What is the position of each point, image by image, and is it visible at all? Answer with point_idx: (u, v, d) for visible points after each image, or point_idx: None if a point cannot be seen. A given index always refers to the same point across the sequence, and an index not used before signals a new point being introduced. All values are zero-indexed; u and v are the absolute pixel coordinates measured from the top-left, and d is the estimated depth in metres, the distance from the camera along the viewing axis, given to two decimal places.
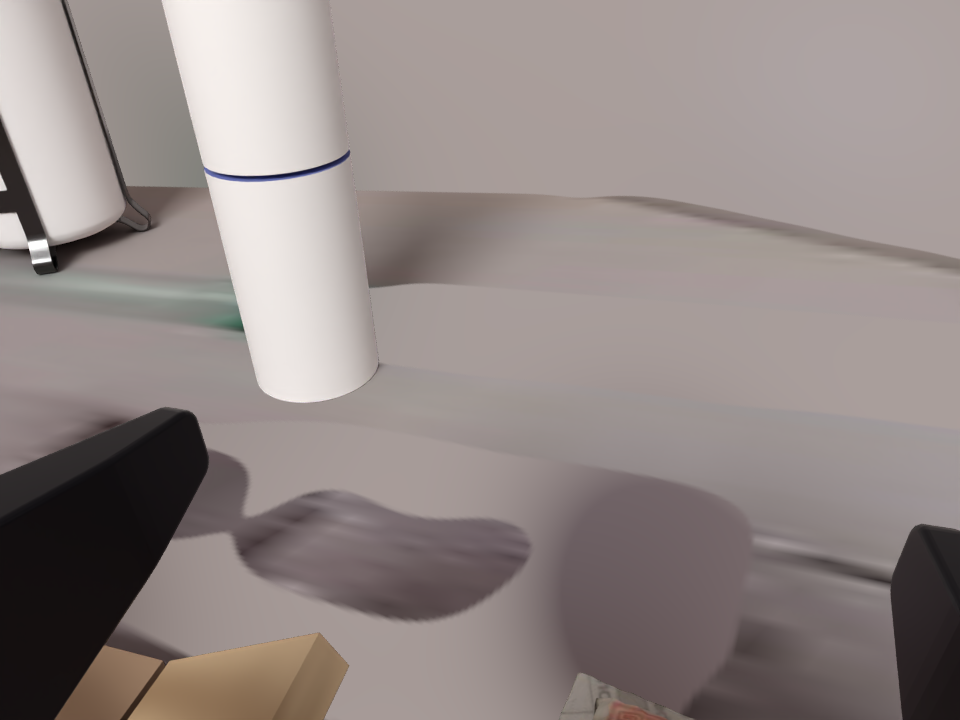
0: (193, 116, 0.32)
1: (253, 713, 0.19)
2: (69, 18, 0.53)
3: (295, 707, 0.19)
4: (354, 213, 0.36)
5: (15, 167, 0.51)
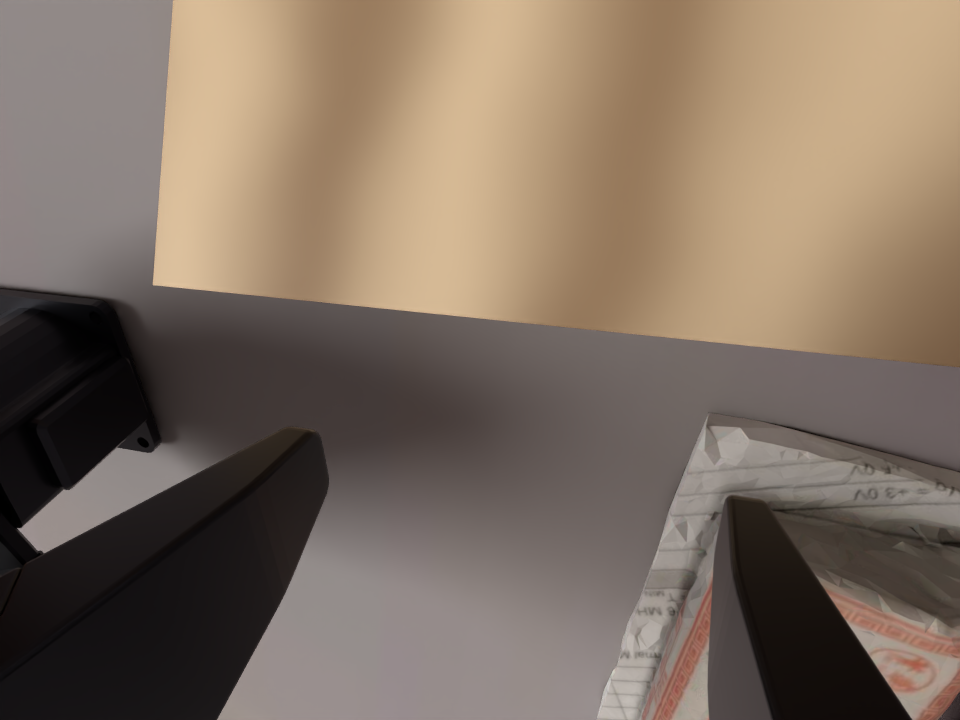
0: None
1: None
2: None
3: None
4: None
5: None
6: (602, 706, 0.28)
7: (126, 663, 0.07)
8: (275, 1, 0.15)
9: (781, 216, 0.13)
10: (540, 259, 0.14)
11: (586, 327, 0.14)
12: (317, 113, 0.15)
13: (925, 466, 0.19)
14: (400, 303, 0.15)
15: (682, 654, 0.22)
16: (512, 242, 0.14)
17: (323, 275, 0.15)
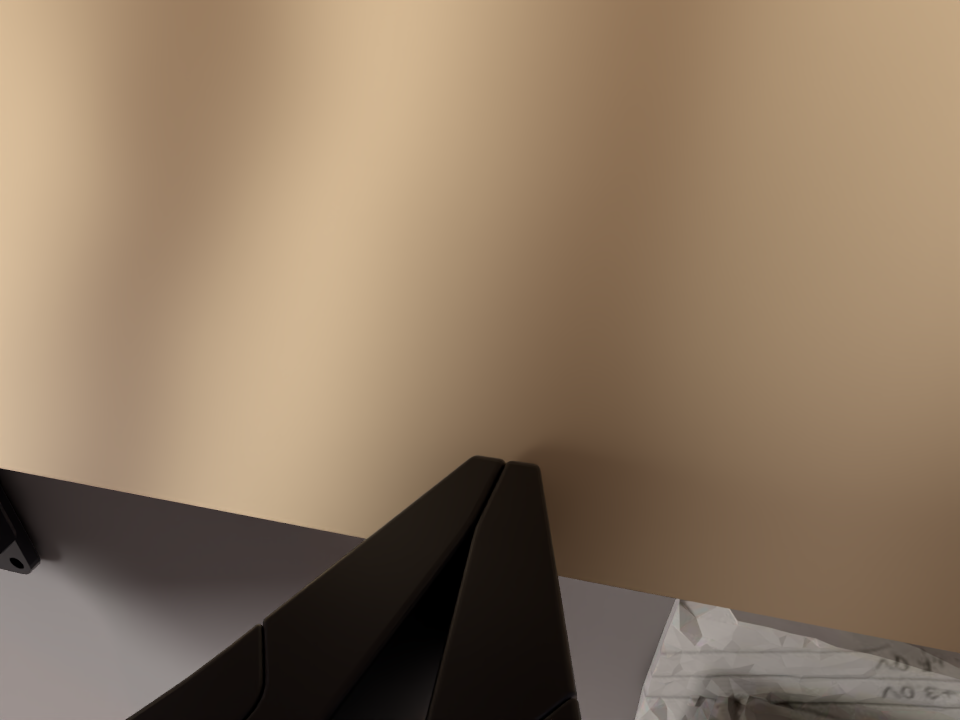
0: None
1: None
2: None
3: None
4: None
5: None
6: None
7: None
8: (68, 48, 0.10)
9: (828, 413, 0.08)
10: (448, 455, 0.09)
11: None
12: (127, 215, 0.10)
13: None
14: (245, 505, 0.10)
15: None
16: (407, 426, 0.09)
17: (137, 455, 0.10)
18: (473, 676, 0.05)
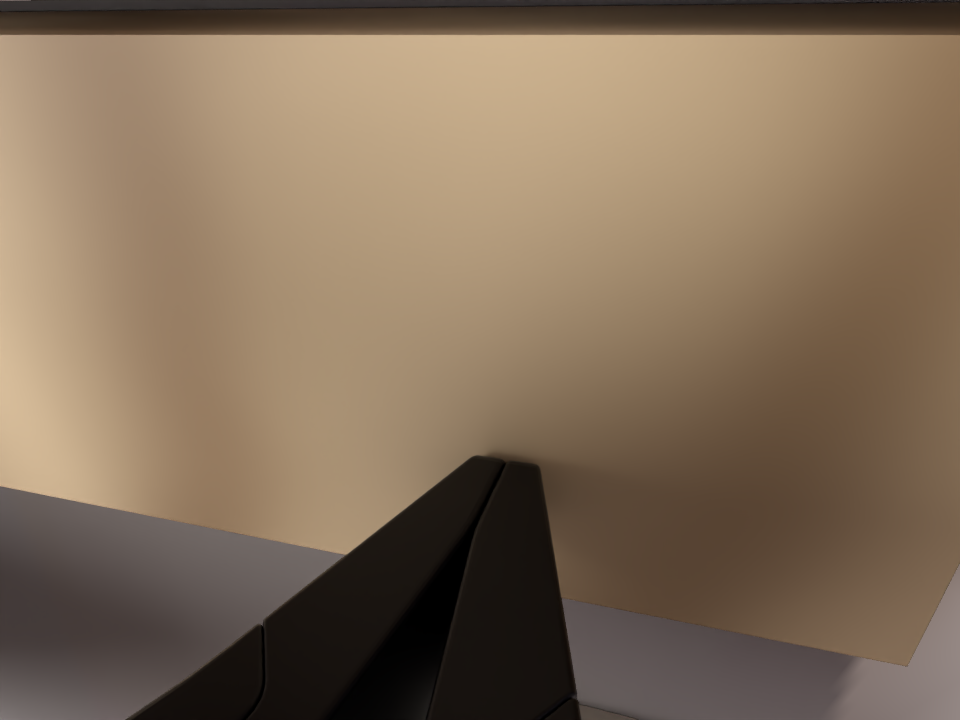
0: None
1: (711, 580, 0.09)
2: None
3: None
4: None
5: None
6: None
7: None
8: None
9: (395, 441, 0.09)
10: (132, 457, 0.11)
11: (214, 527, 0.11)
12: None
13: None
14: (12, 482, 0.12)
15: None
16: (91, 437, 0.11)
17: None
18: (474, 676, 0.05)
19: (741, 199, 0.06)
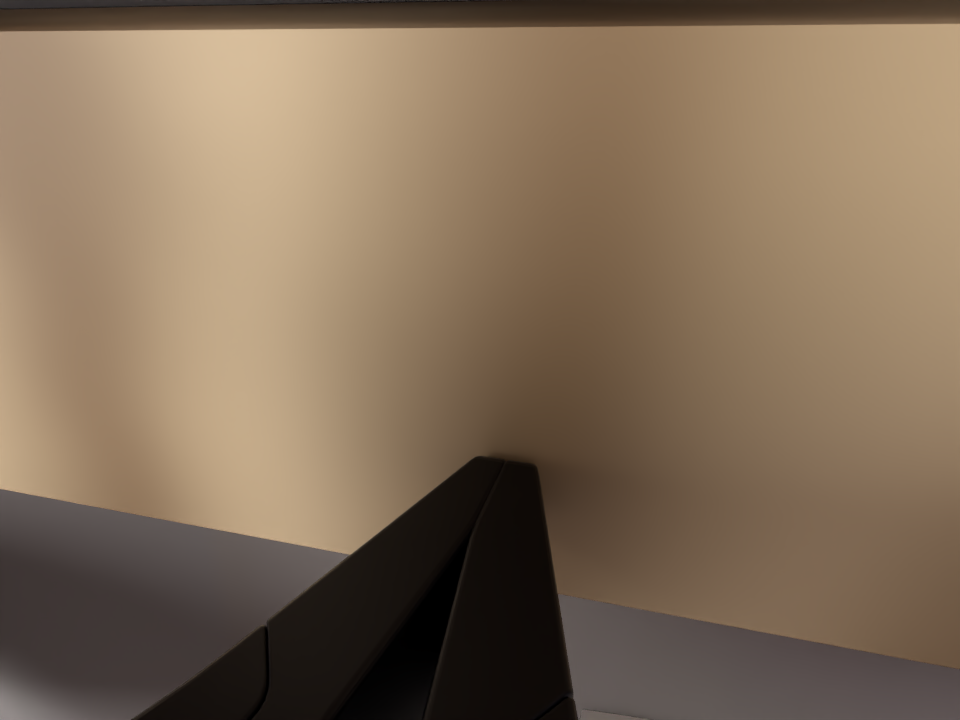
0: None
1: None
2: None
3: None
4: None
5: None
6: None
7: None
8: None
9: (811, 498, 0.08)
10: None
11: None
12: (37, 295, 0.09)
13: None
14: (264, 531, 0.11)
15: None
16: (392, 486, 0.09)
17: (151, 493, 0.11)
18: (470, 675, 0.05)
19: None
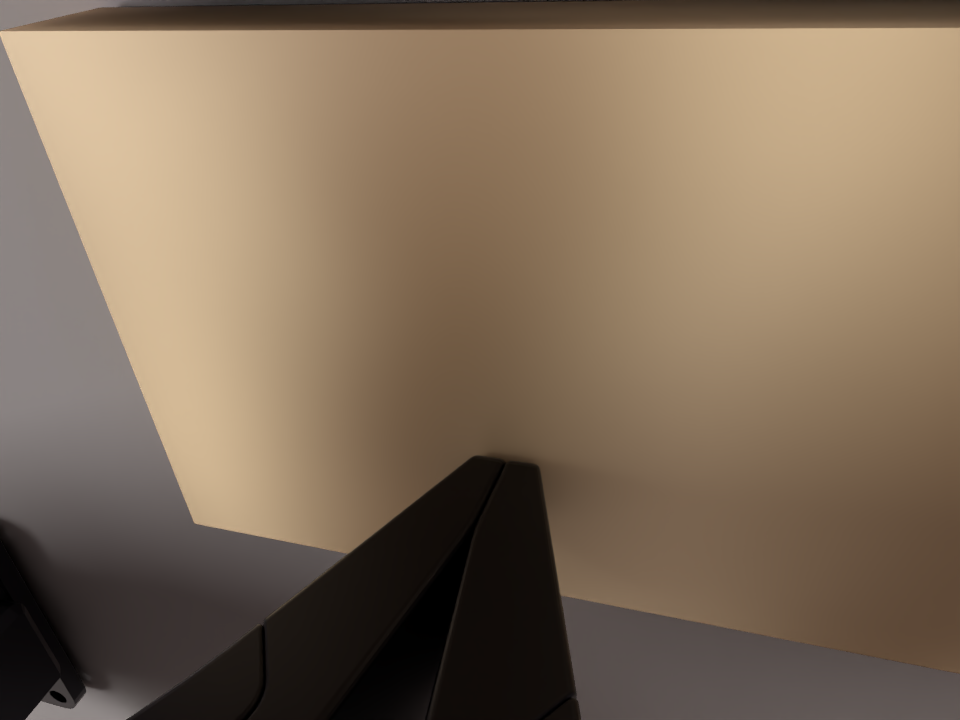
0: None
1: None
2: None
3: None
4: None
5: None
6: None
7: None
8: (243, 111, 0.07)
9: None
10: (836, 578, 0.08)
11: (906, 662, 0.09)
12: (391, 332, 0.08)
13: None
14: (584, 592, 0.10)
15: None
16: (785, 552, 0.08)
17: None
18: (473, 676, 0.05)
19: None
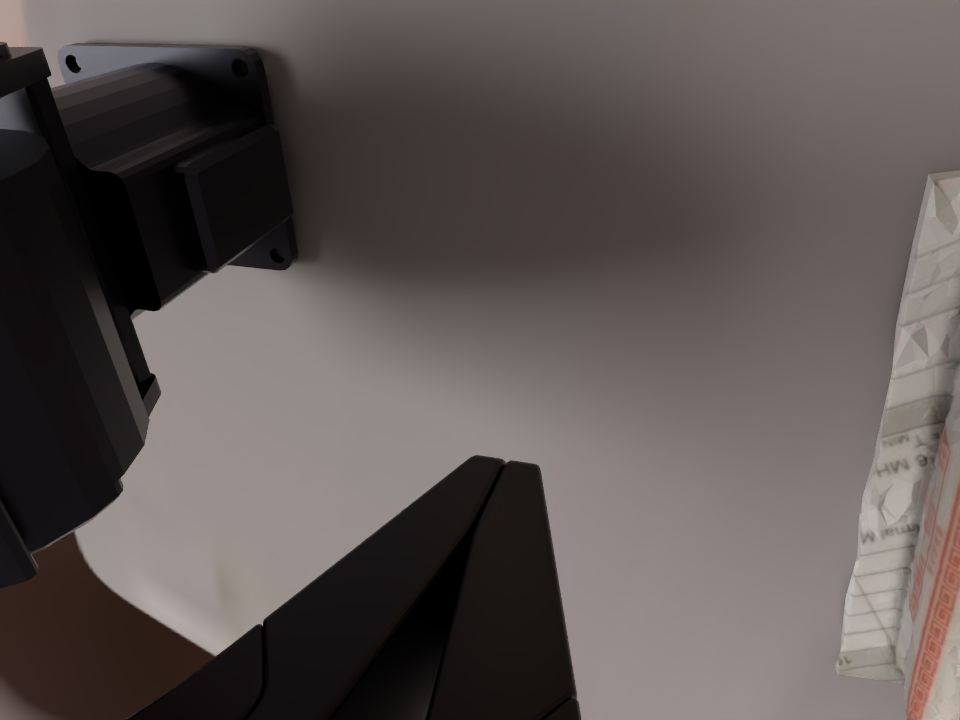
0: None
1: None
2: None
3: None
4: None
5: None
6: (848, 616, 0.23)
7: None
8: None
9: None
10: None
11: None
12: None
13: None
14: None
15: None
16: None
17: None
18: (473, 676, 0.05)
19: None
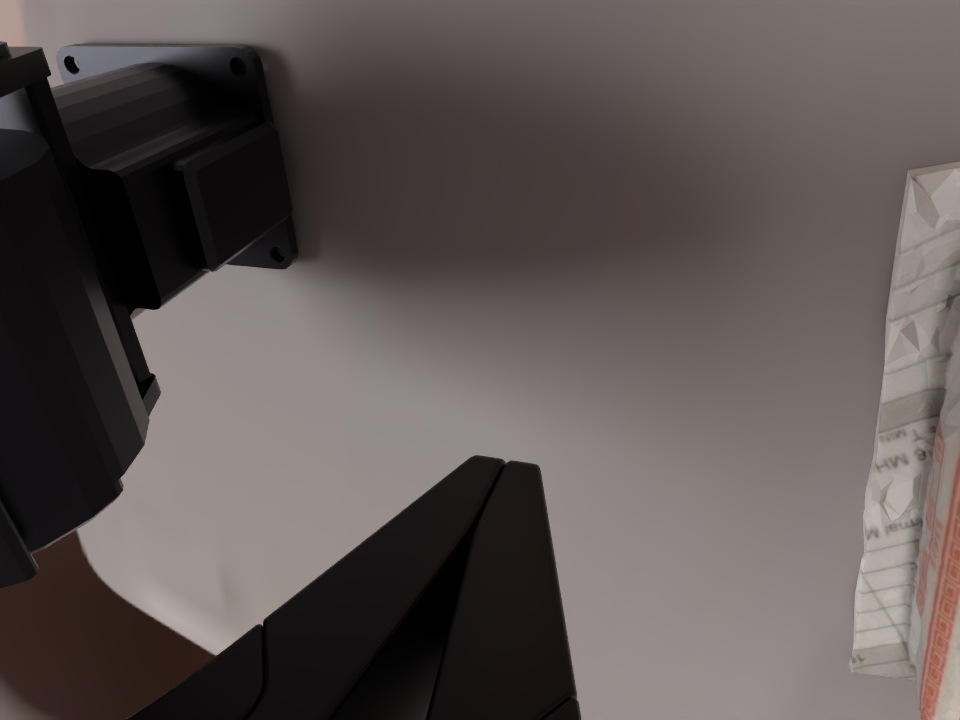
0: None
1: None
2: None
3: None
4: None
5: None
6: (858, 613, 0.23)
7: None
8: None
9: None
10: None
11: None
12: None
13: None
14: None
15: (957, 482, 0.17)
16: None
17: None
18: (473, 676, 0.05)
19: None
